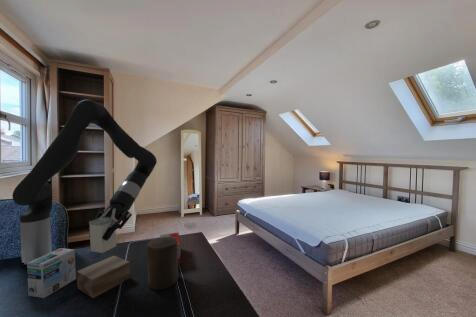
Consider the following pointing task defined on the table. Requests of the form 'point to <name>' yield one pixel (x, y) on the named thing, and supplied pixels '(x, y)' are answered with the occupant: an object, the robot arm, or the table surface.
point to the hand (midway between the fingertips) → (98, 238)
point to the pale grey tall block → (101, 235)
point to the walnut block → (103, 276)
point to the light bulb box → (51, 272)
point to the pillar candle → (162, 263)
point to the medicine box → (176, 235)
